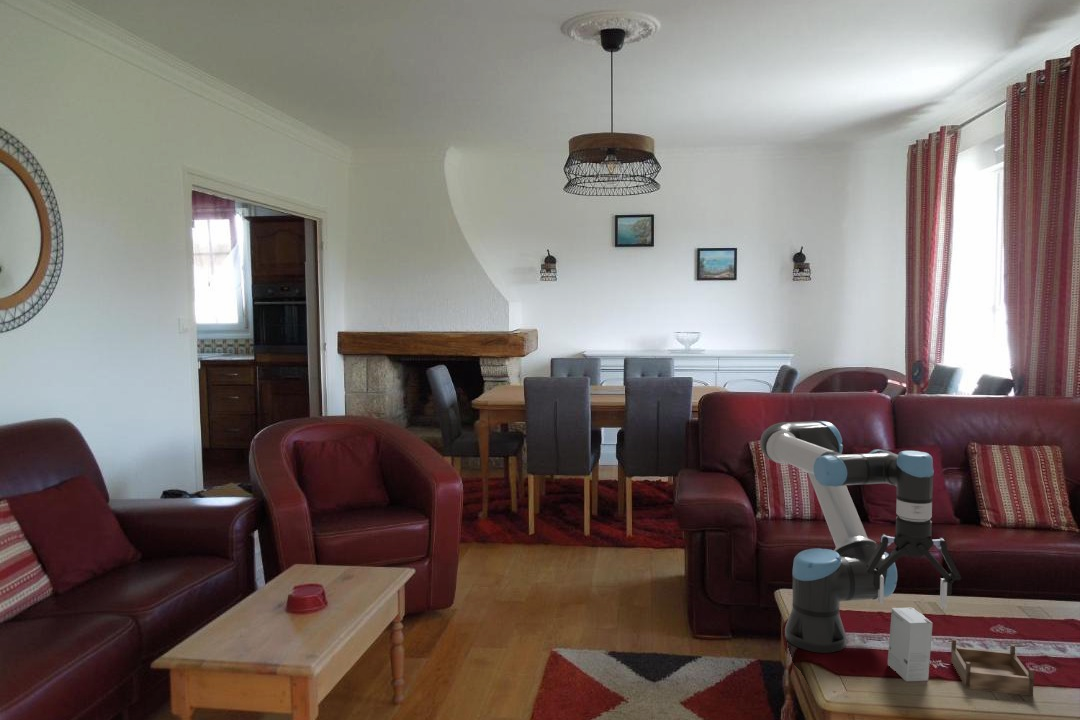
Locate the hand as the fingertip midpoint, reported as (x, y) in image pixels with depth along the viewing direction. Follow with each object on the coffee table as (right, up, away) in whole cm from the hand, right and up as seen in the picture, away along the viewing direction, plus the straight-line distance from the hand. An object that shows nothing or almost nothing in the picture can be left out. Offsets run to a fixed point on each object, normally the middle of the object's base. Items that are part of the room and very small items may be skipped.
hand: (911, 604), depth 175 cm
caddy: (+18, -17, -1) cm, 25 cm away
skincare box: (0, -17, +2) cm, 17 cm away
